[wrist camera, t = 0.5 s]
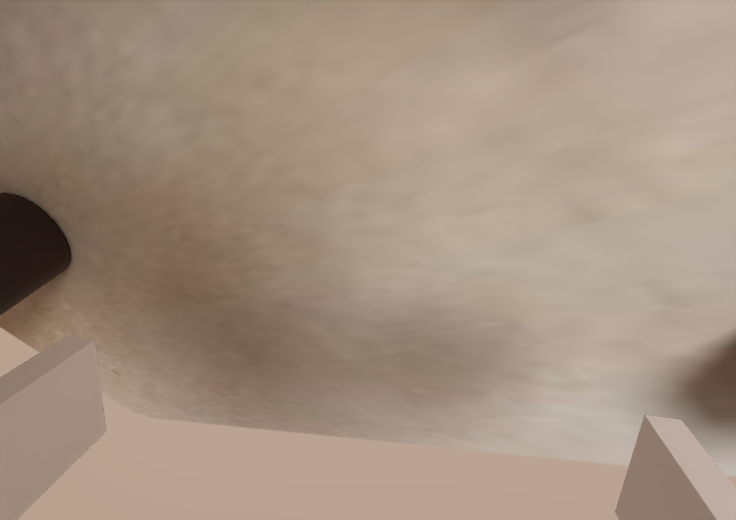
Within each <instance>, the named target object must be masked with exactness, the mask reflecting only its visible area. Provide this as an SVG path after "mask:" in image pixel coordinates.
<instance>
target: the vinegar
mask: <svg viewBox="0 0 736 520" xmlns="http://www.w3.org/2000/svg"><path fill="white" fill-rule="evenodd" d="M69 260H70V254H69V248H68V244H67V242H66V240H65V238H64V235H63V234H62V232H61V231H60V229H59V228H58V227H57V225H56V224H55V222H54V221H53V220H52V219H51V218H50V217H49V216H48V215H47V214H46V213H45V212H44V211H43V210H41V209H40V208H39V207H37V206H36V205H35V204H33V203H32V202H30V201H28V200H26V199H24V198H22V197H20V196H17V195H13V194H8V193H1V194H0V315H1V314H3V313H4V312H6V311H7V310H8V309H10V308H11V307H13V306H14V305H16V304H17V303H19V302H20V301H21V300H23V299H24V298H26V297H27V296H29V295H30V294H31V293H33V292H34V291H36V290H37V289H39V288H40V287H41V286H43V285H44V284H46V283H47V282H49V281H50V280H51V279H53V278H54V277H56V276H57V275H59V274H60V273H61V272H63V271H64V270H65V269H66V268H67V267H68V264H69Z"/></svg>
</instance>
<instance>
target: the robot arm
mask: <svg viewBox="0 0 736 520" xmlns="http://www.w3.org/2000/svg"><path fill="white" fill-rule="evenodd" d="M105 432H106V425H105V416H104V408H103V401H102V393H101V385H100V377H99V369H98V361H97V353H96V345H95V340H91V339H84V338H76V337H69V336H66V337H65V338H63V339H61V340H60V341H58V342H56V343H55V344H53V345H52V346H50V347H48V348H47V349H45V350H44V351H42V352H40V353H39V354H37V355H36V356H34V357H32V358H31V359H29V360H28V361H26V362H24V363H23V364H21V365H19V366H18V367H16V368H15V369H13V370H11V371H10V372H8V373H7V374H5V375H3V376H2V377H1V378H0V520H17V519H18V518H19V517H20V516H21V515H22V514H23V513H24V512H25V511H26V510H27V509H28V508H29V507H30V506H31V505H32V504H33V503H34V502H35V501H36V500H38V499H39V498H40V497H41V495H42V494H44V493H45V492H46V490H48V489H49V488H50V487H51V486H52V485H53V484H54V483H55V482H56V481H57V480H58V479H59V478H60V477H61V476H62V475H63V474H64V473H65V472H66V471H67V470H68V469H69V468H70V467H71V466H72V465H73V464H74V463H75V462H76V461H77V460H78V459H79V458H80V457H81V456H82V455H83V454H84V453H85V452H86V451H87V450H88V449H89V448H90V447H91V446H92V445H93V444H94V443H95V442H96V441H97V440H98V439H99V438H100V437H101V436H102V435H103V434H104V433H105ZM615 512H616V514H617V517H618V519H619V520H736V489H735V487H734V486H733V485H732V483H731V482H730V481H729V479H728V478H727V477H726V476H725V474H724V473H723V472H722V471H721V469H720V468H719V467H718V466H717V464H716V463H715V462H714V461H713V459H712V458H711V457H710V456H709V454H708V453H707V452H706V450H705V449H704V448H703V447H702V445H701V444H700V443H699V442H698V440H697V439H696V438H695V437H694V435H693V434H692V433H691V432H690V430H689V429H688V428H687V426H686V425H685V424H684V423H683V421H682V420H679V419H672V418H664V417H657V416H650V415H644V419H643V422H642V425H641V428H640V432H639V435H638V438H637V442H636V445H635V448H634V451H633V455H632V458H631V461H630V464H629V468H628V471H627V474H626V478H625V481H624V484H623V487H622V491H621V494H620V497H619V501H618V504H617V507H616V510H615Z"/></svg>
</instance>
